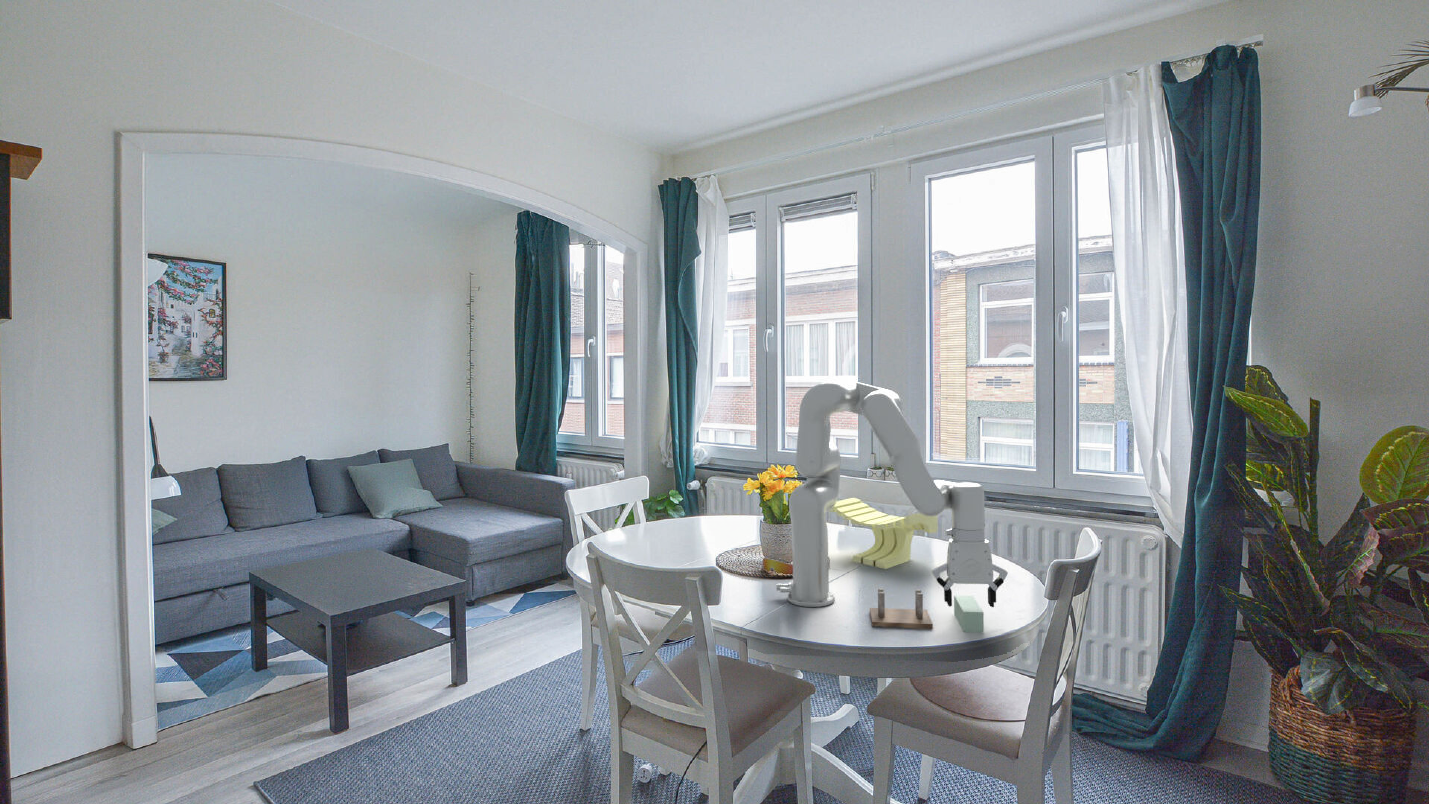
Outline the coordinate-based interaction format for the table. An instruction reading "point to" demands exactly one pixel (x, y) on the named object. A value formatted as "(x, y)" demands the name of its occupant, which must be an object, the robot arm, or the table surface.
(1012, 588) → the table surface
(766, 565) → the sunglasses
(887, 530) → the slatted curved stool
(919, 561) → the table surface
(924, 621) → the peg stand
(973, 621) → the mint green rectangular block
